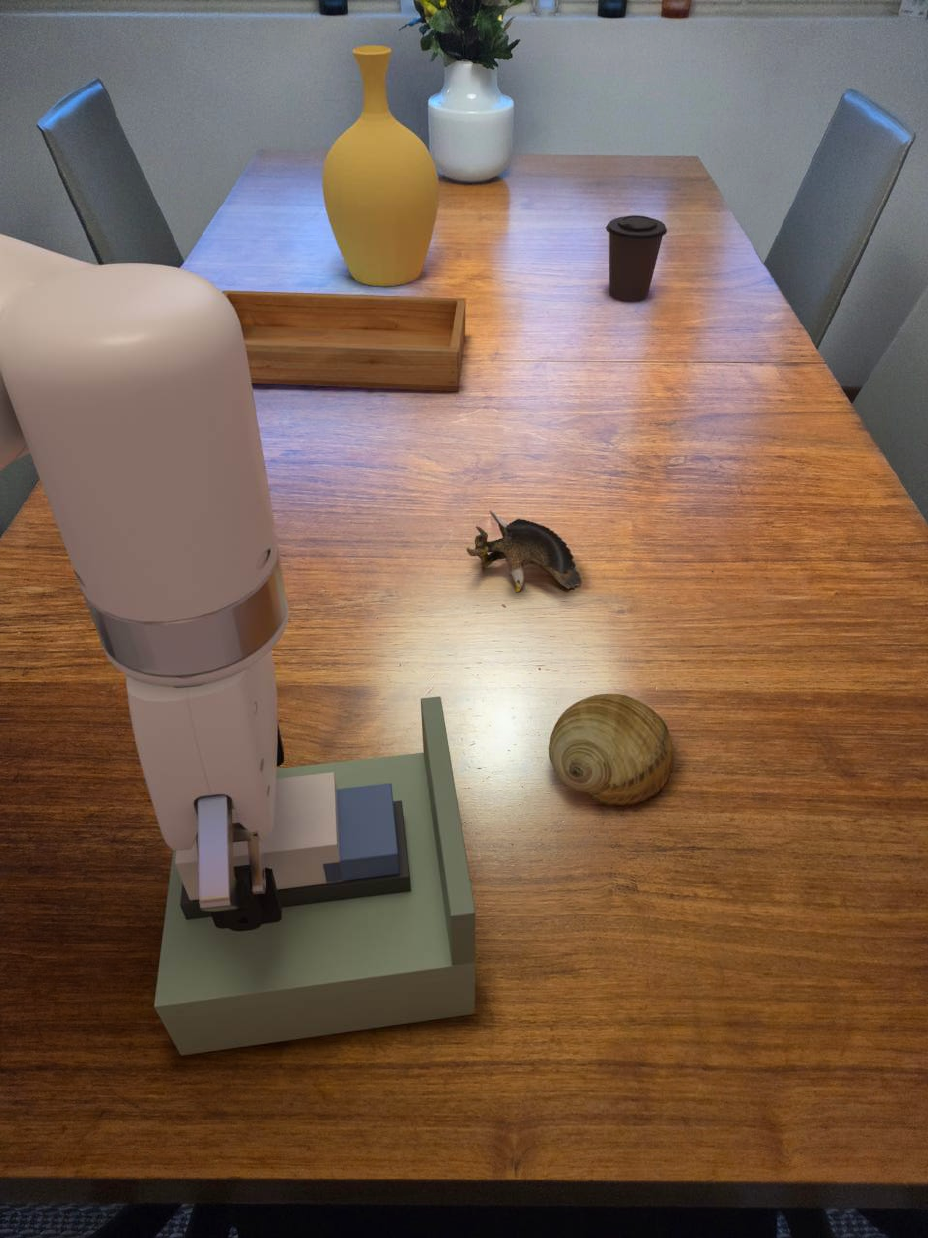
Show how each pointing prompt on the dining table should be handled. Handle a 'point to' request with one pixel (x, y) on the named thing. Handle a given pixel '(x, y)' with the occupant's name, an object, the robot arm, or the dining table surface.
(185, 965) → the olive lipped platform
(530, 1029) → the dining table surface
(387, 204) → the vase
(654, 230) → the coffee cup
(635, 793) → the seashell
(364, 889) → the black base with blocks
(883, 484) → the dining table surface
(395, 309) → the tray
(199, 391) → the robot arm
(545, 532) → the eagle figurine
